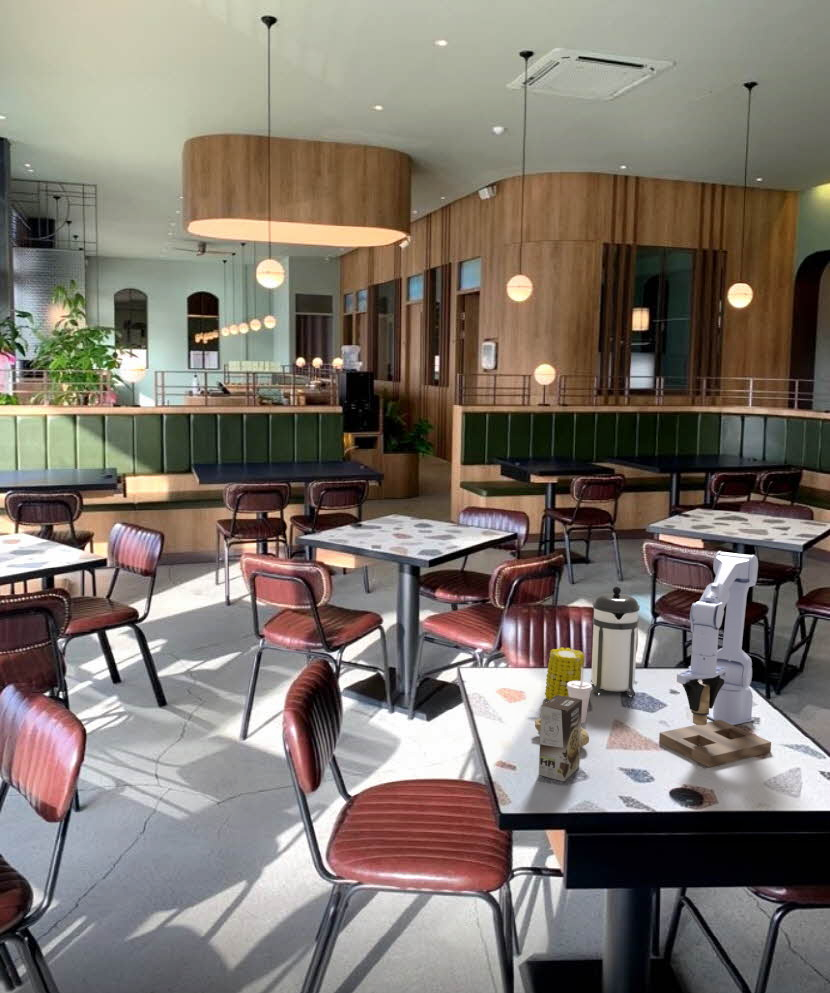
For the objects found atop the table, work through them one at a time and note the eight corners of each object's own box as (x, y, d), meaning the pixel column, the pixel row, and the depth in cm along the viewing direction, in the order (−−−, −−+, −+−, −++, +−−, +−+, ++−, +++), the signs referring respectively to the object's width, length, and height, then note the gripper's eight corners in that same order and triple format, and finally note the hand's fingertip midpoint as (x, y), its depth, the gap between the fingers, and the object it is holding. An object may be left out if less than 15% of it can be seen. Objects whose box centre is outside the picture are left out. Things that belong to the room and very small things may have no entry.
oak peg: (700, 719, 218) (701, 682, 217) (712, 724, 214) (713, 686, 214) (687, 721, 216) (688, 684, 215) (699, 726, 213) (700, 689, 212)
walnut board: (719, 729, 230) (719, 719, 230) (770, 752, 216) (771, 742, 216) (659, 742, 221) (659, 732, 220) (708, 767, 207) (709, 756, 206)
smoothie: (590, 726, 230) (592, 672, 229) (564, 724, 232) (566, 670, 230) (590, 717, 237) (592, 665, 235) (565, 715, 238) (567, 663, 236)
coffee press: (653, 692, 257) (658, 588, 253) (613, 703, 248) (618, 595, 244) (608, 675, 271) (612, 576, 267) (568, 685, 262) (572, 582, 258)
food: (561, 697, 256) (585, 710, 248) (530, 695, 250) (554, 708, 241) (574, 645, 255) (599, 656, 247) (543, 641, 249) (568, 652, 241)
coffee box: (564, 782, 198) (567, 710, 196) (537, 775, 201) (540, 704, 199) (580, 767, 205) (583, 698, 203) (554, 761, 209) (556, 693, 207)
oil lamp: (536, 731, 227) (537, 712, 226) (594, 740, 222) (595, 720, 221) (525, 747, 217) (526, 726, 216) (586, 756, 212) (586, 736, 211)
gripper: (714, 644, 220) (711, 698, 222) (668, 651, 213) (665, 707, 215) (736, 652, 214) (733, 708, 215) (690, 660, 207) (687, 717, 209)
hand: (701, 708), depth 215 cm, fingers closed on oak peg, 4 cm apart
